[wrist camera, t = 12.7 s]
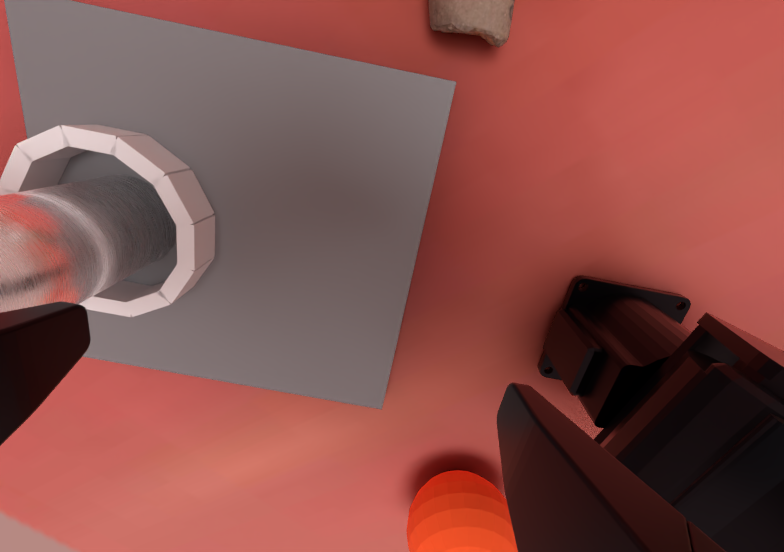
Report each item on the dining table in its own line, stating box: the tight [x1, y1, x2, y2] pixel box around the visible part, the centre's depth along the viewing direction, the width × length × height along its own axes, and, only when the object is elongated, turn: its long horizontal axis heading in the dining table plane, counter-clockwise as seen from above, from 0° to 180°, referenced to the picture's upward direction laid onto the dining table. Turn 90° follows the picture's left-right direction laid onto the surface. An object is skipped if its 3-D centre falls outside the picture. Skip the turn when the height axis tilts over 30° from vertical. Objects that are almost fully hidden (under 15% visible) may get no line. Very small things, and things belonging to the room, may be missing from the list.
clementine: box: [407, 470, 518, 552], centre depth 24 cm, size 8×7×7 cm
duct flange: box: [0, 0, 456, 409], centre depth 19 cm, size 19×18×4 cm
